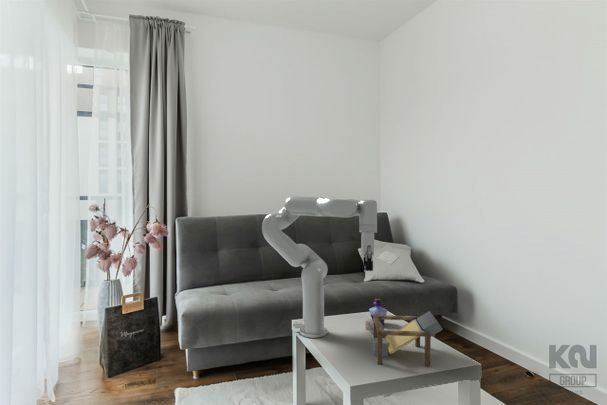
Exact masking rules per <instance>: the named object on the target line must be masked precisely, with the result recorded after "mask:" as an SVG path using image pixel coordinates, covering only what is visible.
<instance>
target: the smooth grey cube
mask: <svg viewBox="0 0 607 405" xmlns="http://www.w3.org/2000/svg"><path fill="white" fill-rule="evenodd" d="M372 342H373V343H372V344H373V345H372V346H373V350H372V351H373V355H374V357H378V338H373V341H372ZM388 356H389V349H388V342H387V339H386V338H382V357H388Z"/></svg>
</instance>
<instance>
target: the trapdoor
mask: <svg viewBox="0 0 607 405" xmlns="http://www.w3.org/2000/svg"><path fill="white" fill-rule="evenodd" d="M417 320H418V322H419V324H420V326H419V324H418V323H417V321H416V320H415V319H414V320H410V321H409V322H408V323H406V324H405V325H402V327H400V328H399V329H397V330H396V331H421V332H430V333H431V337H434V336H435V335H436V334H438V333H440V332H441V331H442V330H444V329H443V327H442V326H441V324H440V323H439V322H438V320H437V318H435V316H434V315H433V313H432V312H431V311H430V310H428V311H427V312H425V313H424V314H422V315H420V316H419V318H417ZM418 337H420V338H421V336H394V335H387V336H386V337H385V338H386V339H387V342H388V353H389V354H390V355H392V354H394V353H396V352H397V351H399V350H400V349H402V348H404V347H406V346H407V345H408V344H410V343H412V342H413V341H415V339H417V338H418Z"/></svg>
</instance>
